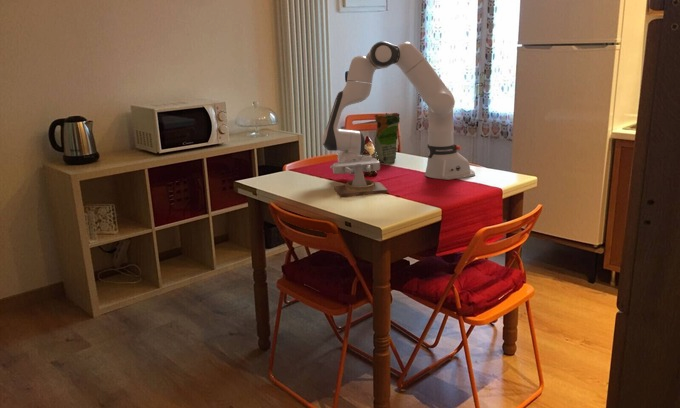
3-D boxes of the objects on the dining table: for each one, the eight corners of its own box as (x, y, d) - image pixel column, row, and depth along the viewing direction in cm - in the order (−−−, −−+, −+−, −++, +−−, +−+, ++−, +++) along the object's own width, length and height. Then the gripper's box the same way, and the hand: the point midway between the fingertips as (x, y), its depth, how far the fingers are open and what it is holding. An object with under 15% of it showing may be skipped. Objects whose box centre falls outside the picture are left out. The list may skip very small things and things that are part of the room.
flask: (367, 190, 240) (366, 166, 237) (350, 190, 241) (349, 166, 238) (368, 185, 247) (368, 162, 244) (351, 185, 248) (350, 162, 245)
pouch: (401, 159, 298) (400, 111, 291) (394, 165, 288) (393, 114, 281) (380, 159, 302) (379, 110, 295) (373, 164, 292) (372, 114, 285)
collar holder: (379, 185, 252) (379, 177, 251) (387, 193, 240) (387, 184, 239) (334, 189, 249) (333, 181, 248) (340, 197, 236) (339, 189, 235)
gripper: (329, 158, 251) (335, 165, 238) (374, 154, 255) (383, 161, 242) (329, 173, 253) (335, 180, 240) (375, 168, 257) (383, 176, 244)
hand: (360, 170), depth 241 cm, fingers open, 6 cm apart
